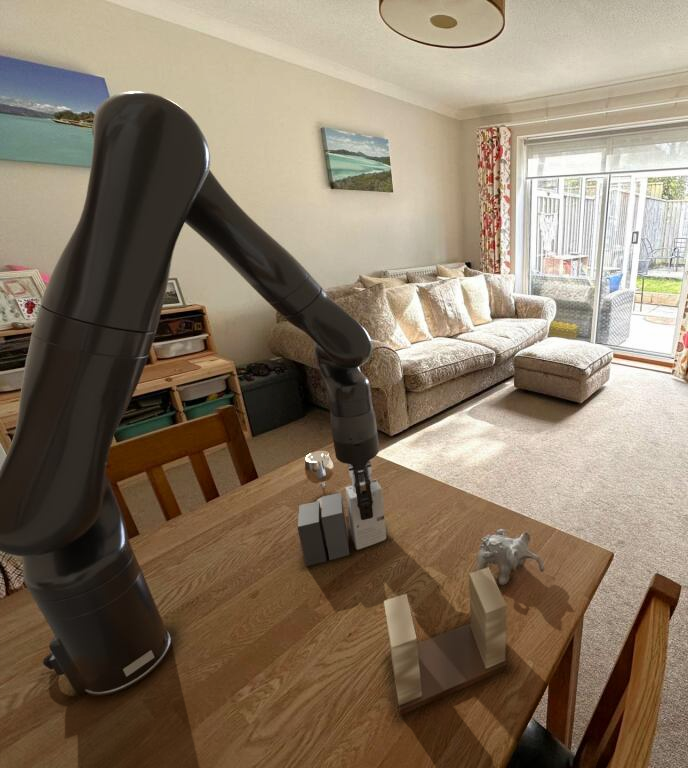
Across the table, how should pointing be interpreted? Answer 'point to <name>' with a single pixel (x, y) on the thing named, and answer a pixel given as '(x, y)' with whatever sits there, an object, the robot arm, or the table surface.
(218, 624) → the table surface
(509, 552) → the gray elephant figurine
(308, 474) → the wineglass
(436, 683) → the book board
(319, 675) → the table surface
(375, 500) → the cosmetic box
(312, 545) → the grey books
